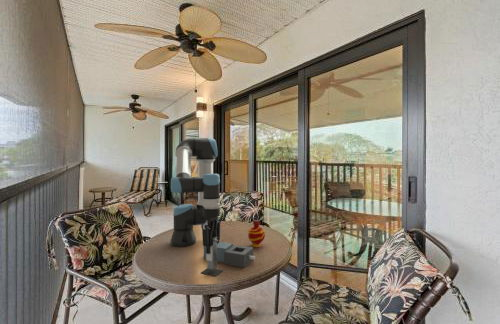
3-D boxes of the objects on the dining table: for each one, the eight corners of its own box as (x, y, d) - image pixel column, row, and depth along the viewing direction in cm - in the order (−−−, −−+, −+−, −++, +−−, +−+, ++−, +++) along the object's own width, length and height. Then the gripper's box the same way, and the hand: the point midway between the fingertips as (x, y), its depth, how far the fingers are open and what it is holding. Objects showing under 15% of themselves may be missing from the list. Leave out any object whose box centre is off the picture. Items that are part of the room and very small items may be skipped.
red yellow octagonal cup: (263, 249, 146) (263, 223, 146) (246, 247, 148) (246, 222, 148) (266, 243, 156) (266, 218, 156) (249, 242, 158) (249, 218, 158)
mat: (200, 273, 115) (200, 272, 115) (207, 268, 121) (207, 267, 121) (215, 276, 112) (215, 275, 112) (222, 271, 118) (222, 270, 118)
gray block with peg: (215, 270, 114) (215, 238, 114) (204, 267, 116) (204, 237, 116) (219, 267, 117) (219, 236, 116) (208, 265, 119) (208, 235, 119)
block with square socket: (201, 259, 131) (201, 242, 131) (213, 252, 141) (213, 236, 141) (250, 268, 120) (249, 249, 120) (258, 260, 130) (258, 242, 130)
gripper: (208, 211, 107) (209, 267, 107) (227, 205, 122) (227, 253, 122) (194, 210, 110) (194, 264, 110) (213, 204, 125) (214, 251, 125)
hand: (211, 258), depth 116 cm, fingers closed on gray block with peg, 3 cm apart
